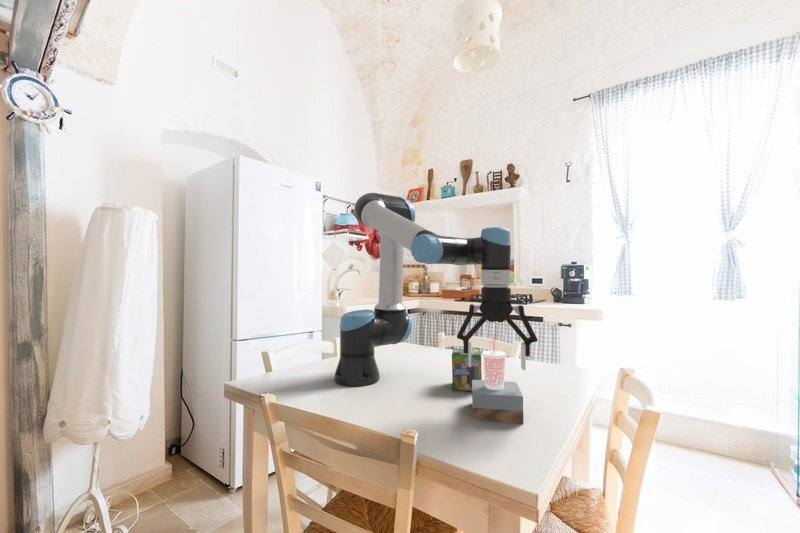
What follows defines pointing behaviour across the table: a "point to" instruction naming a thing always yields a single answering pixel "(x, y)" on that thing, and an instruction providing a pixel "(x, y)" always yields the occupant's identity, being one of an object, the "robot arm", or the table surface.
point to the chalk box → (465, 369)
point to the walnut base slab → (498, 415)
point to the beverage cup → (494, 368)
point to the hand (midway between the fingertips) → (496, 367)
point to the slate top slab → (497, 396)
